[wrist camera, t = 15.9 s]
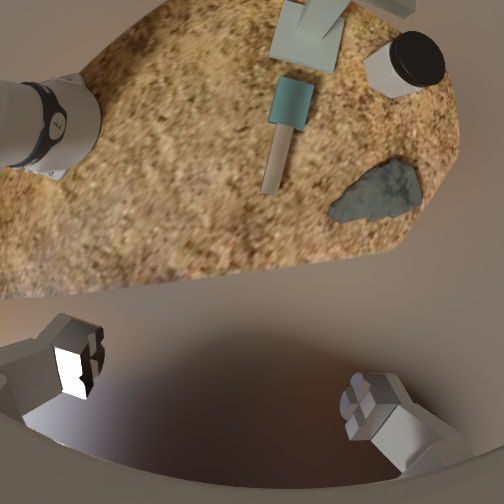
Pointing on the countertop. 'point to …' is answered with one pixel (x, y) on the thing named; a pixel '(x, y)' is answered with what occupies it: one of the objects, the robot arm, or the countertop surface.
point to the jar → (405, 65)
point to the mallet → (284, 127)
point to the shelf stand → (319, 30)
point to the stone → (379, 194)
